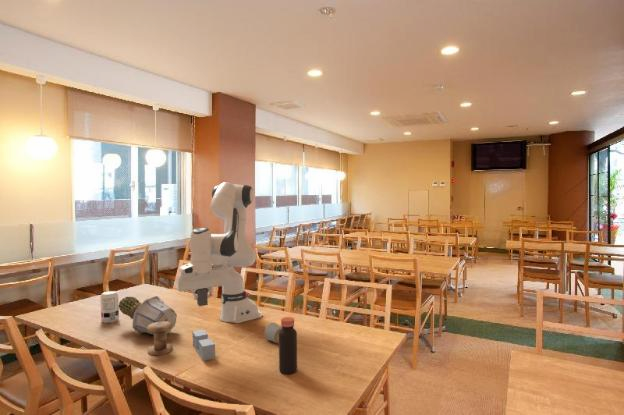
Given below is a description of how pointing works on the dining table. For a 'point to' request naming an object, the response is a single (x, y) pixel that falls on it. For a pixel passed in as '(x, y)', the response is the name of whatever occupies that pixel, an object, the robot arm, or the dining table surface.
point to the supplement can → (109, 307)
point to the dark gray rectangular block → (202, 297)
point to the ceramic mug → (272, 332)
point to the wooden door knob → (160, 338)
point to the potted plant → (147, 313)
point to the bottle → (287, 346)
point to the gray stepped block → (203, 345)
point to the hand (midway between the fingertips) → (202, 298)
